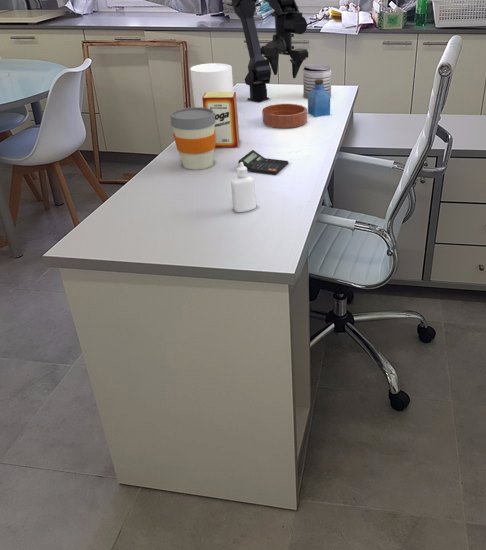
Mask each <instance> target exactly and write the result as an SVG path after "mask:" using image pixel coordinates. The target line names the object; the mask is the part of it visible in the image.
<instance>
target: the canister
mask: <svg viewBox="0 0 486 550" xmlns="http://www.w3.org/2000/svg"><path fill="white" fill-rule="evenodd" d="M232 67H233V66H232V65H230V64H227V63H219V62H218V63H217V62H216V63H215V62H211V63H202V64H195V65H193V66H191V67H190V68H189V71H190V79H191V80H190V81H191V87H192V97H193V107H202V108H203V100H202V97H203V96H204V94H205V92H216V91H220V92H234V80H233V79H234V78H233V68H232Z"/></svg>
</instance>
